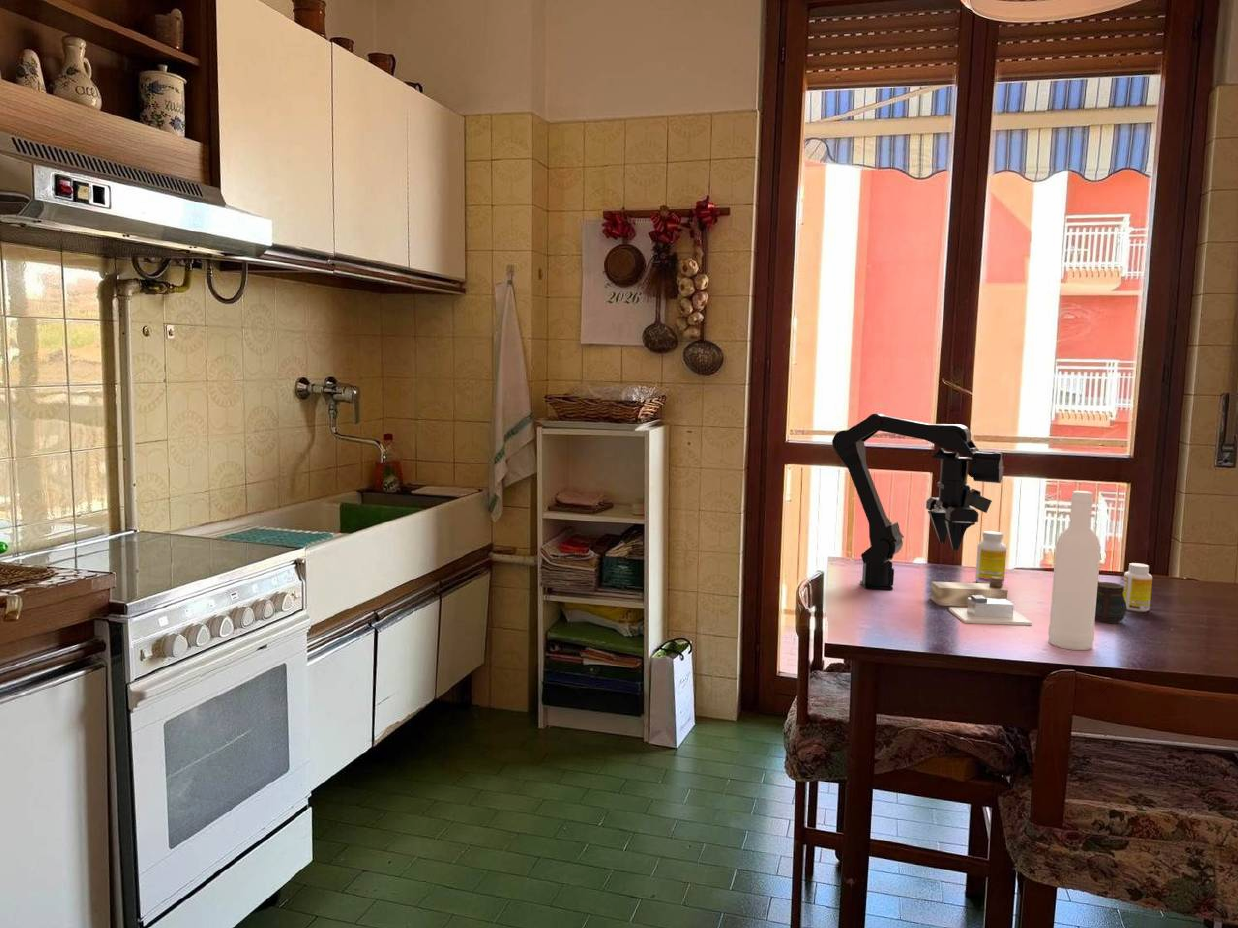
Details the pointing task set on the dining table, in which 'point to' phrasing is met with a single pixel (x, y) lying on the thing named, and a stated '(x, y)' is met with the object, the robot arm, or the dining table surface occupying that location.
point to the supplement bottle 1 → (990, 557)
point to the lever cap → (989, 607)
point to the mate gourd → (1110, 602)
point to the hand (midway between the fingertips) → (948, 546)
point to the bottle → (1075, 579)
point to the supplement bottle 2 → (1137, 587)
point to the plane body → (966, 591)
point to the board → (969, 618)
